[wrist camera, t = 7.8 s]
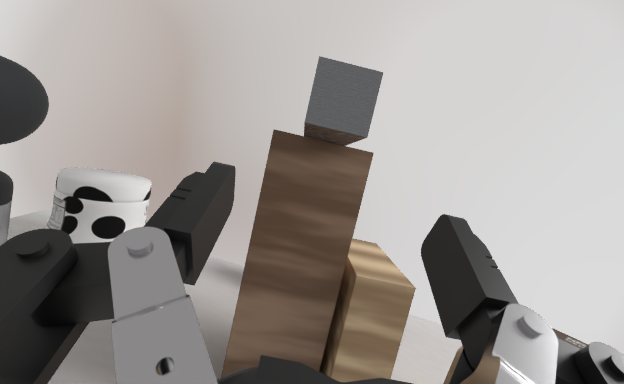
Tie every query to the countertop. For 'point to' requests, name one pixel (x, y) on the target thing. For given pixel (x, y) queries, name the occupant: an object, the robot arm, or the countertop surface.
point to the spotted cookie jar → (98, 204)
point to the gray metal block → (341, 102)
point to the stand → (317, 270)
